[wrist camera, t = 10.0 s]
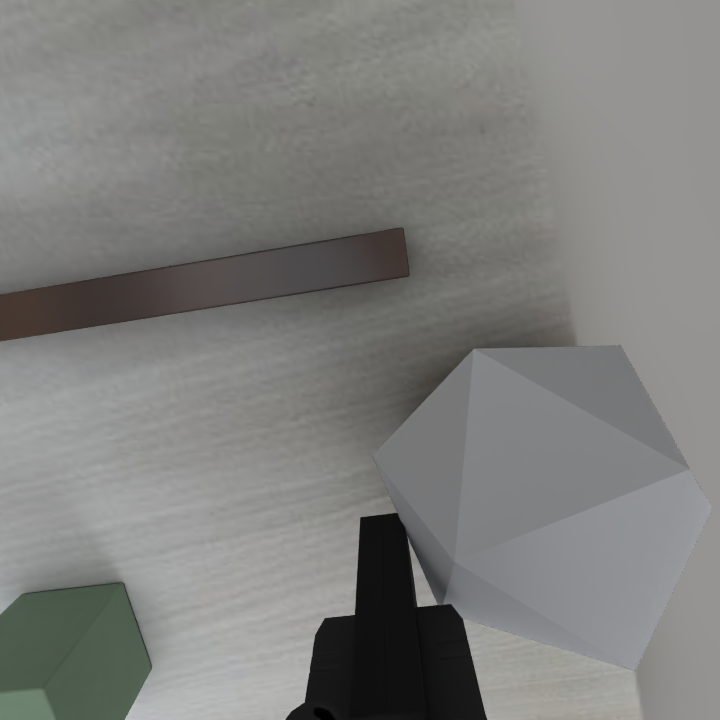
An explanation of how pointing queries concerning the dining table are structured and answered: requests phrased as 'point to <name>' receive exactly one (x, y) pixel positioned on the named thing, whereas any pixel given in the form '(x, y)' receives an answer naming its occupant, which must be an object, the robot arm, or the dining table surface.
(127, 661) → the sage block
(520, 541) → the die
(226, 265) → the rail
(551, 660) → the dining table surface
